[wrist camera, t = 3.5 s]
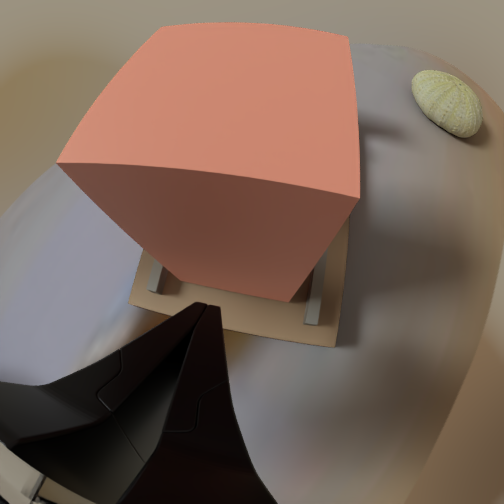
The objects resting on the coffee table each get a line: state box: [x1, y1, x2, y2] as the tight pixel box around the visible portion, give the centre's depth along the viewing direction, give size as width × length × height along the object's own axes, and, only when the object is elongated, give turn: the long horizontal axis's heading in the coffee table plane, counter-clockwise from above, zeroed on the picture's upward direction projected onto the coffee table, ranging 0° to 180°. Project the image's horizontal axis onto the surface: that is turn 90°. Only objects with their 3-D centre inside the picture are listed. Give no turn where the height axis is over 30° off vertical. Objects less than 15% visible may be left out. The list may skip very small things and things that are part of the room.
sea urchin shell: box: [411, 70, 483, 138], centre depth 20 cm, size 9×8×8 cm
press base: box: [128, 215, 350, 347], centre depth 16 cm, size 18×12×6 cm, turn 169°
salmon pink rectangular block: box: [56, 22, 360, 302], centre depth 10 cm, size 6×6×11 cm
